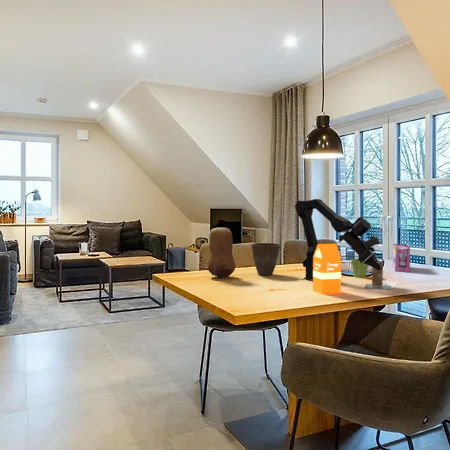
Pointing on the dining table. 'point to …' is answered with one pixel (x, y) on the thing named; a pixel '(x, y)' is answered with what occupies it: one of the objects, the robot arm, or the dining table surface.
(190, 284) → the dining table surface
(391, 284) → the tile
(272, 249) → the plant pot
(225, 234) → the butternut squash
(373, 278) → the block
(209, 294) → the dining table surface
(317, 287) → the orange juice
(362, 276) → the plant pot
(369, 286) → the coaster
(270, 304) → the dining table surface
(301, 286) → the dining table surface
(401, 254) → the gum box
